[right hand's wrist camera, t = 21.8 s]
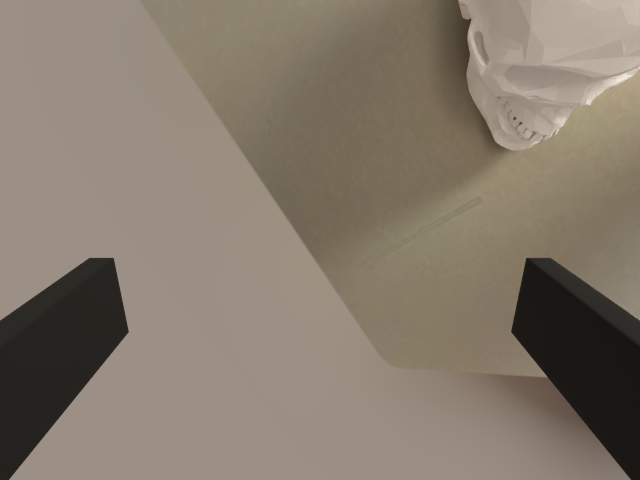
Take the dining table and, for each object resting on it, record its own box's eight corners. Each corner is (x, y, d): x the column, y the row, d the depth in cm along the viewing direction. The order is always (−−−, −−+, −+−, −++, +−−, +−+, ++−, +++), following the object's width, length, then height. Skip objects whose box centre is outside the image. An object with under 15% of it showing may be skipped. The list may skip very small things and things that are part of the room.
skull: (451, 160, 39) (539, 197, 24) (435, -106, 32) (549, -287, 17) (582, 136, 39) (754, 159, 24) (598, -139, 31) (864, -356, 16)
